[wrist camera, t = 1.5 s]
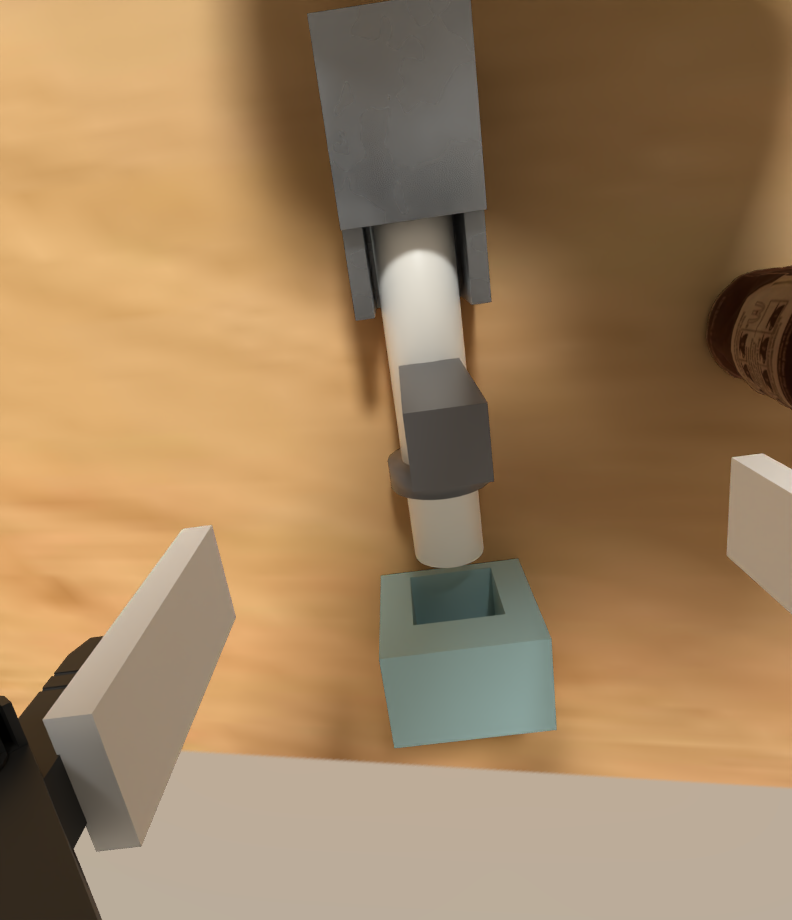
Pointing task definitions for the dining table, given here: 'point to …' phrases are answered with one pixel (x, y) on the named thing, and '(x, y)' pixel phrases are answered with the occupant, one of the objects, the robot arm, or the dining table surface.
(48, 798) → the robot arm
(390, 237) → the tube
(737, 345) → the coffee cup
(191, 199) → the dining table surface
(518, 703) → the socket
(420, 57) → the sleeve
